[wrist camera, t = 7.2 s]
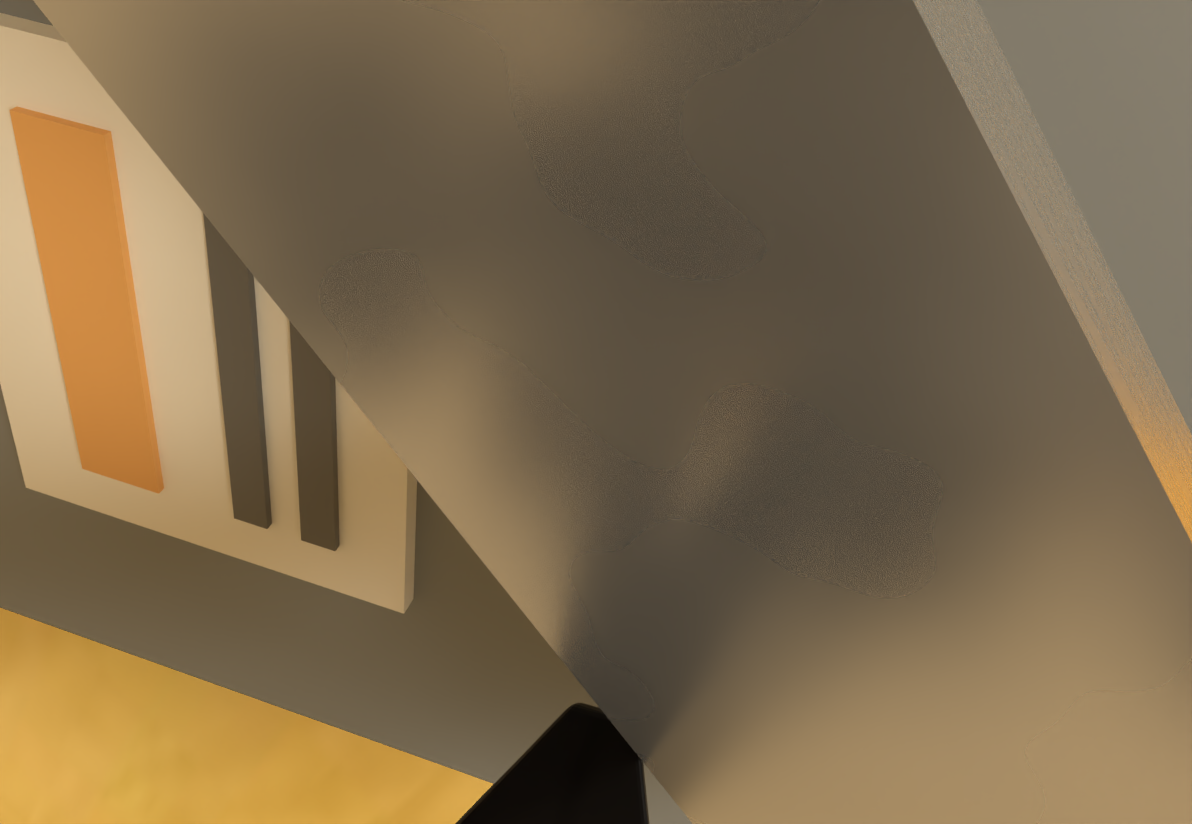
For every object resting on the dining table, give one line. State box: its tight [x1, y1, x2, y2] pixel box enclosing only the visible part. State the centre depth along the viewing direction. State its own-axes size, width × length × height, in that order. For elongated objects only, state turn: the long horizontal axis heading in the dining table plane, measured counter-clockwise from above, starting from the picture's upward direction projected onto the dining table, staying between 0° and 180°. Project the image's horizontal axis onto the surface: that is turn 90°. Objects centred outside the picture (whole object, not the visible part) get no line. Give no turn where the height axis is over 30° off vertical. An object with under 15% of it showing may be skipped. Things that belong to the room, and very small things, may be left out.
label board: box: [0, 0, 1192, 824], centre depth 11 cm, size 22×20×4 cm
